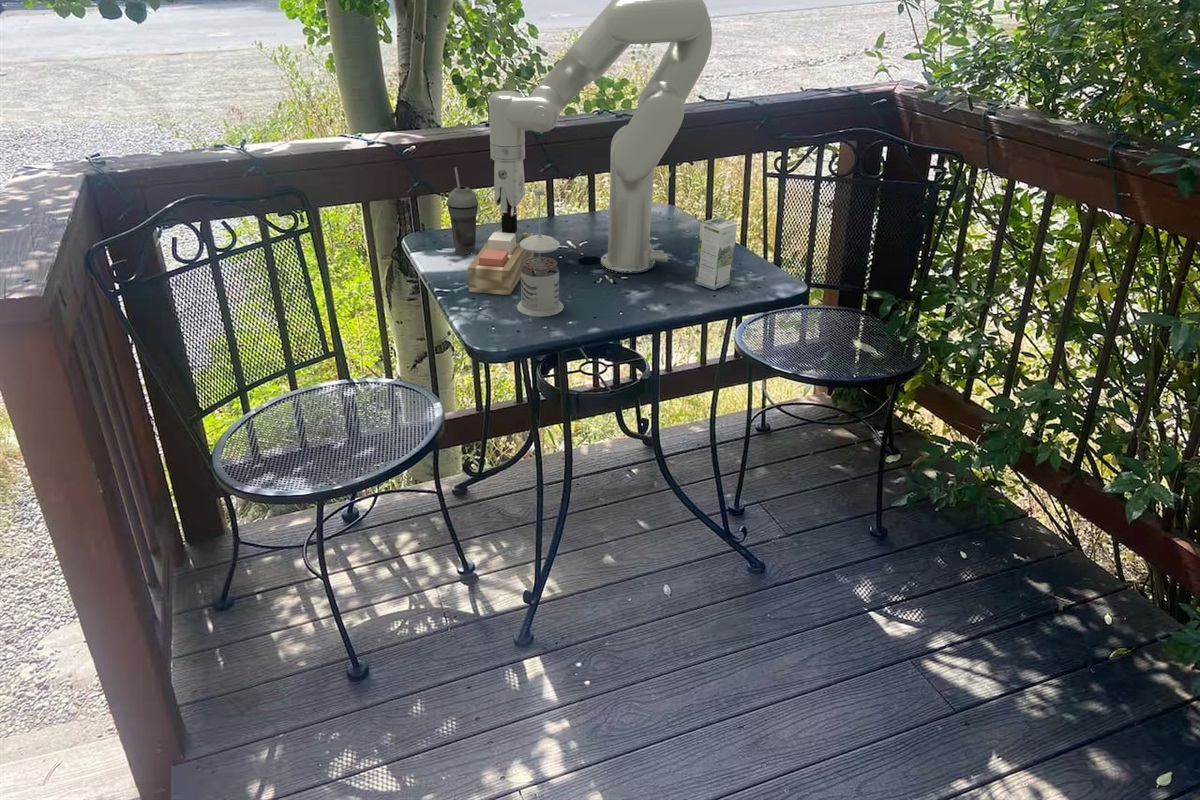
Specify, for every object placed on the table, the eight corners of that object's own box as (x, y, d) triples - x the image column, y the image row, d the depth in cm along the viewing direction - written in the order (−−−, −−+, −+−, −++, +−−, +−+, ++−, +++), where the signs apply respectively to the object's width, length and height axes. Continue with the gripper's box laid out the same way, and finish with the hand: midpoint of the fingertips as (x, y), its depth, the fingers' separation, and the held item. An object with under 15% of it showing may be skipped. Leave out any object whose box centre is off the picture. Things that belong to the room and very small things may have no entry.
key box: (534, 255, 209) (533, 233, 207) (509, 295, 189) (509, 270, 186) (497, 252, 210) (496, 230, 208) (468, 291, 190) (467, 267, 187)
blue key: (523, 245, 206) (523, 228, 204) (518, 252, 202) (518, 236, 200) (502, 243, 207) (502, 227, 205) (497, 251, 203) (496, 234, 201)
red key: (508, 268, 193) (507, 251, 191) (502, 277, 189) (502, 259, 187) (486, 266, 194) (485, 249, 192) (479, 275, 190) (479, 257, 188)
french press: (525, 319, 178) (523, 198, 166) (507, 297, 188) (504, 181, 175) (571, 312, 182) (572, 193, 169) (550, 291, 191) (550, 176, 179)
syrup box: (710, 277, 200) (716, 215, 193) (731, 285, 197) (737, 222, 189) (694, 284, 197) (699, 221, 189) (714, 292, 193) (721, 228, 186)
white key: (516, 250, 199) (515, 233, 197) (510, 258, 195) (510, 241, 193) (494, 249, 200) (493, 232, 198) (488, 256, 196) (488, 239, 194)
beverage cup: (478, 257, 207) (474, 172, 197) (447, 256, 207) (441, 171, 197) (482, 246, 214) (479, 164, 204) (452, 245, 214) (447, 163, 204)
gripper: (516, 161, 186) (518, 244, 196) (531, 143, 199) (532, 222, 208) (481, 158, 187) (485, 241, 197) (499, 141, 200) (501, 220, 209)
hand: (509, 231), depth 202 cm, fingers closed
